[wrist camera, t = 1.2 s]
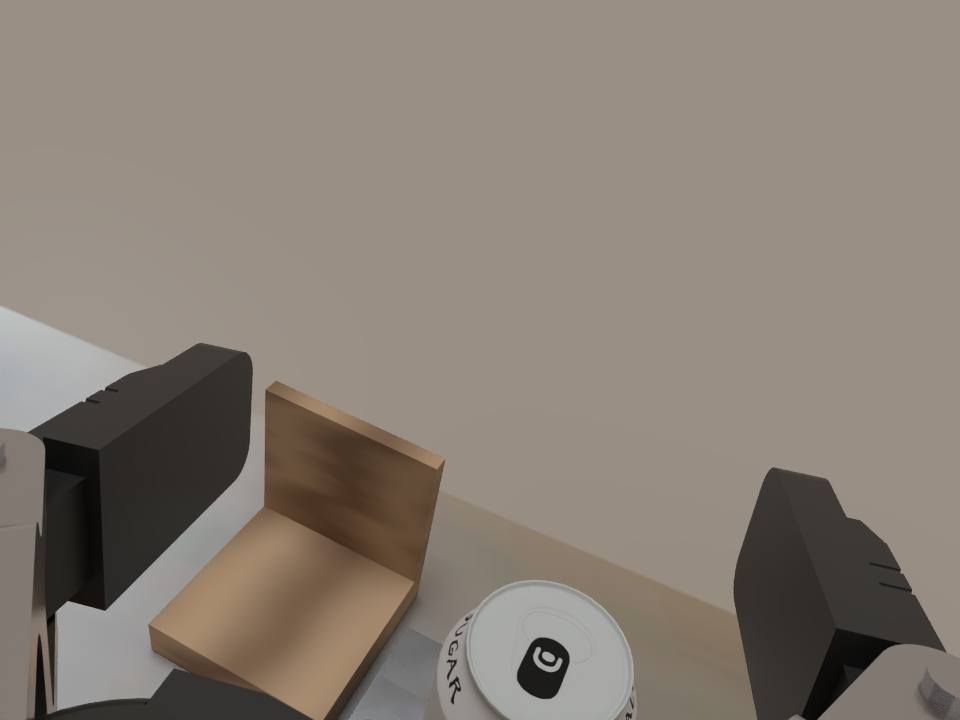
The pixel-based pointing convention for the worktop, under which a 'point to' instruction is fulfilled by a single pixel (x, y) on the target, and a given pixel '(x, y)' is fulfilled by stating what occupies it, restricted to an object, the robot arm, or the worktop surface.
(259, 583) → the wooden l-shaped stand
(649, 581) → the worktop surface
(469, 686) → the energy drink can
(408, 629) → the socket block
